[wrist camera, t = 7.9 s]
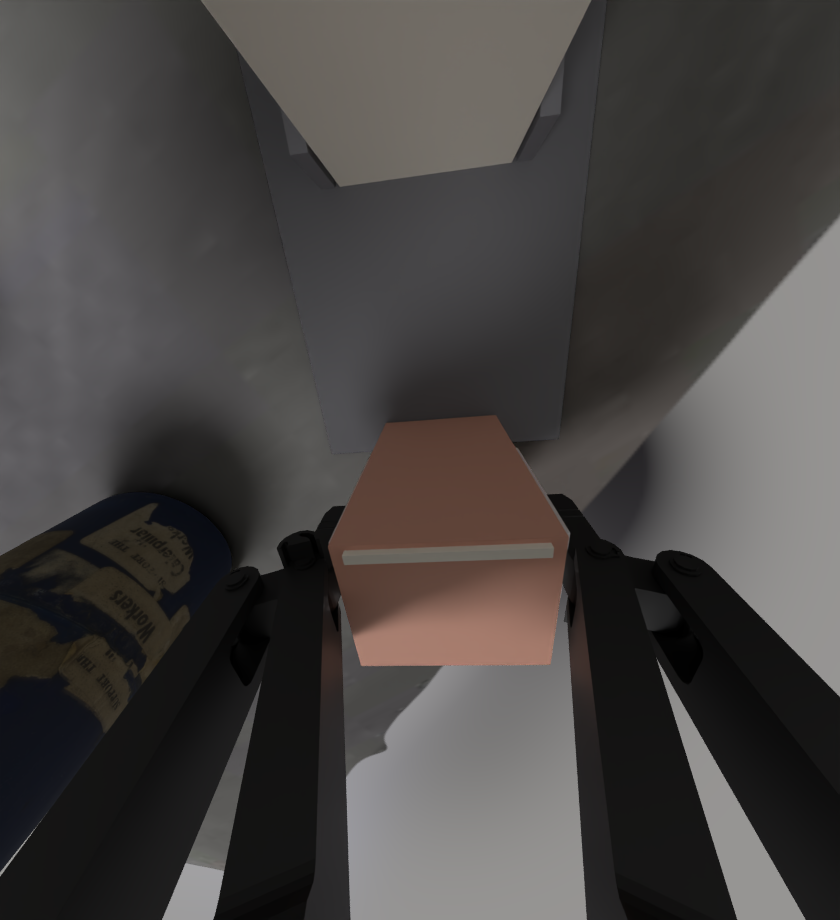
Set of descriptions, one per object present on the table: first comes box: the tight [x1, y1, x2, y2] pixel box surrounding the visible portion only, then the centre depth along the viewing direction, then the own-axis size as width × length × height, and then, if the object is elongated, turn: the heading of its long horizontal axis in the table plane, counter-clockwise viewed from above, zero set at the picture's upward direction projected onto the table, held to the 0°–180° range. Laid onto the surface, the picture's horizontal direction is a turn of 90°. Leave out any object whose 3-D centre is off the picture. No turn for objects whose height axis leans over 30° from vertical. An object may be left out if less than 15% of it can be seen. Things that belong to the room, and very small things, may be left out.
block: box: [328, 415, 569, 666], centre depth 13 cm, size 5×6×10 cm
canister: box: [0, 492, 232, 871], centre depth 14 cm, size 10×10×18 cm
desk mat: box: [236, 0, 607, 454], centre depth 13 cm, size 23×13×1 cm, turn 5°
